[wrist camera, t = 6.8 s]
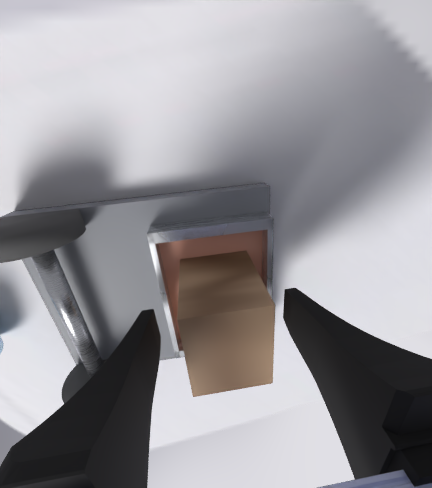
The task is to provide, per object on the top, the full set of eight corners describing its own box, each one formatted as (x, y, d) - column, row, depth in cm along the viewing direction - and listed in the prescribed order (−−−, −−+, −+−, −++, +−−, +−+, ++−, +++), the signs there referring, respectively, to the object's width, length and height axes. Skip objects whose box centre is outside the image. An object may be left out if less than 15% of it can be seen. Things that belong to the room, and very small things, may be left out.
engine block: (246, 250, 14) (275, 305, 9) (248, 314, 16) (272, 382, 12) (179, 259, 14) (177, 319, 9) (190, 322, 16) (193, 396, 11)
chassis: (264, 182, 14) (296, 202, 10) (263, 332, 19) (284, 385, 15) (9, 211, 13) (-71, 246, 9) (83, 361, 18) (54, 426, 14)
